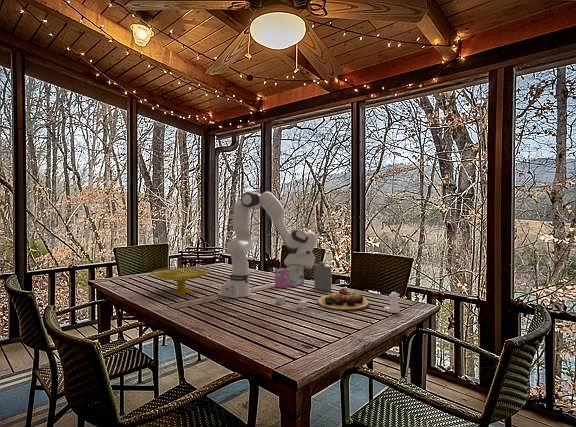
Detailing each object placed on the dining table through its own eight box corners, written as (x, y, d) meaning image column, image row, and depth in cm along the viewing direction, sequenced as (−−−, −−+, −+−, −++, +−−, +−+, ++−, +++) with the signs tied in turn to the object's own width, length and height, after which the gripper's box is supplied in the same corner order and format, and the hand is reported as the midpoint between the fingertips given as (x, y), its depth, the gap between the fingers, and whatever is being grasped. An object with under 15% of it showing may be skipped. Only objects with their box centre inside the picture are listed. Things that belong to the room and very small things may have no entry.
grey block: (275, 303, 221) (275, 297, 221) (279, 302, 224) (279, 295, 224) (281, 304, 218) (281, 298, 218) (284, 303, 222) (284, 296, 222)
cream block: (298, 308, 211) (298, 301, 210) (301, 306, 214) (301, 300, 214) (303, 309, 208) (303, 302, 208) (307, 307, 211) (307, 301, 211)
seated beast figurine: (398, 309, 208) (398, 289, 208) (405, 314, 200) (405, 293, 200) (382, 310, 207) (383, 290, 207) (389, 314, 198) (389, 293, 198)
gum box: (299, 282, 284) (299, 265, 283) (305, 284, 277) (305, 266, 277) (274, 286, 269) (274, 268, 269) (280, 288, 263) (280, 269, 263)
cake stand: (189, 302, 222) (189, 278, 222) (137, 296, 235) (137, 274, 235) (221, 288, 260) (221, 268, 260) (174, 284, 273) (174, 264, 273)
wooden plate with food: (327, 295, 242) (327, 283, 242) (373, 300, 228) (373, 288, 228) (309, 308, 213) (309, 295, 213) (362, 315, 199) (362, 300, 199)
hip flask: (332, 291, 254) (332, 263, 254) (328, 291, 252) (328, 263, 251) (316, 287, 266) (316, 260, 266) (312, 287, 264) (312, 261, 263)
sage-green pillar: (289, 279, 218) (289, 265, 218) (293, 278, 221) (293, 265, 221) (295, 280, 215) (295, 266, 215) (299, 279, 219) (299, 265, 218)
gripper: (287, 249, 230) (278, 266, 222) (314, 252, 217) (305, 270, 210) (291, 256, 233) (282, 272, 226) (318, 258, 221) (309, 276, 213)
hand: (293, 271), depth 218 cm, fingers closed on sage-green pillar, 4 cm apart
